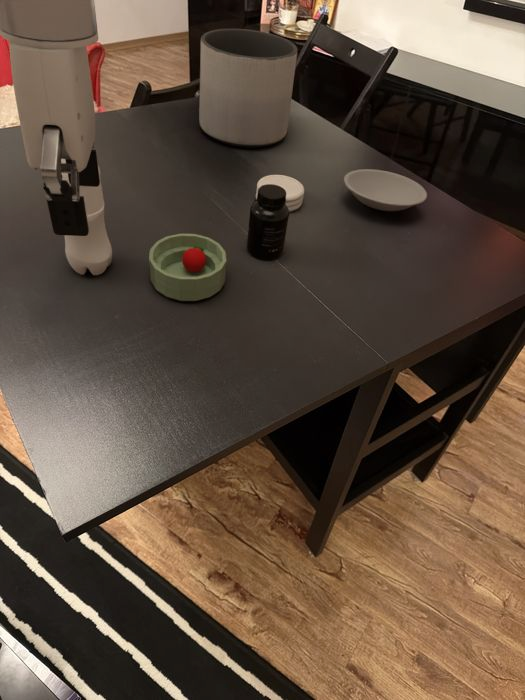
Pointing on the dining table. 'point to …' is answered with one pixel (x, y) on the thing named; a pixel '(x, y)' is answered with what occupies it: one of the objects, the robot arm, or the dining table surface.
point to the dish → (384, 189)
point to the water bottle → (90, 234)
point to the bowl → (173, 274)
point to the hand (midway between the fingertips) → (79, 207)
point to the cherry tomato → (194, 259)
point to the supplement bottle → (268, 223)
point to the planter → (246, 86)
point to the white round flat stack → (291, 187)
